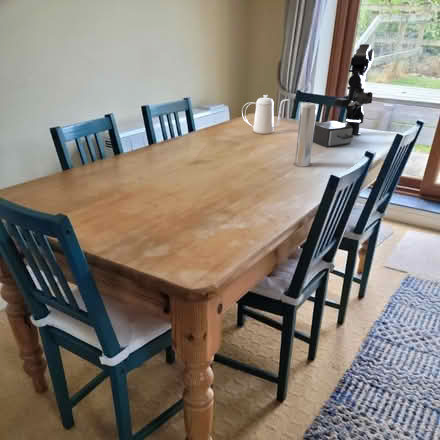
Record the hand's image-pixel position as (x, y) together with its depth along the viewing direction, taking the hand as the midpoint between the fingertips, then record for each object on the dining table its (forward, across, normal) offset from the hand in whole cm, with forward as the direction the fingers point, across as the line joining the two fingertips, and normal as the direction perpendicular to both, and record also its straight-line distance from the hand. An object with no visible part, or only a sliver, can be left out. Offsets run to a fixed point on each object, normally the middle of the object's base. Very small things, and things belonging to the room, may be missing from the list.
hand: (350, 119), depth 222 cm
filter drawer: (+11, -6, +2) cm, 13 cm away
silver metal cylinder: (+11, -41, -18) cm, 46 cm away
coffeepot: (+12, -24, +39) cm, 48 cm away
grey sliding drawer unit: (+12, -6, +6) cm, 15 cm away
